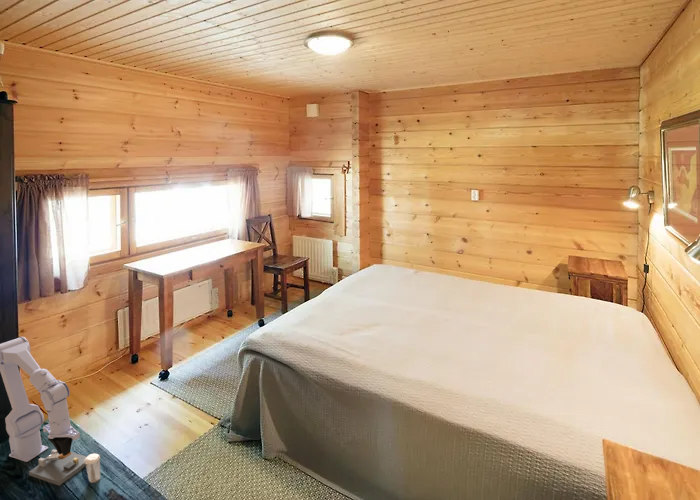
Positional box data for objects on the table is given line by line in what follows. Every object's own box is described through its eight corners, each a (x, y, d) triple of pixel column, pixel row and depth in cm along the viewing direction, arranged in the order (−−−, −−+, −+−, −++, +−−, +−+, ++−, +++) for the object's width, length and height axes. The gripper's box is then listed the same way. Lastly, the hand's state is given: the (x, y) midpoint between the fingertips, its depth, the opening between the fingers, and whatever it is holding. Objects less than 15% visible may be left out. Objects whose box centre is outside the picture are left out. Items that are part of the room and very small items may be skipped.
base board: (29, 475, 142) (27, 465, 141) (62, 452, 153) (61, 443, 152) (59, 485, 138) (57, 475, 137) (91, 461, 149) (90, 451, 148)
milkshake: (97, 485, 138) (93, 460, 136) (83, 483, 139) (80, 457, 137) (107, 476, 142) (104, 450, 140) (94, 473, 143) (91, 448, 141)
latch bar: (44, 461, 145) (42, 457, 145) (52, 456, 148) (50, 452, 148) (63, 459, 141) (62, 455, 141) (71, 453, 144) (70, 450, 144)
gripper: (31, 420, 139) (37, 456, 141) (63, 429, 134) (69, 465, 137) (52, 409, 145) (57, 443, 148) (83, 417, 141) (88, 451, 144)
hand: (64, 453), depth 143 cm, fingers closed
